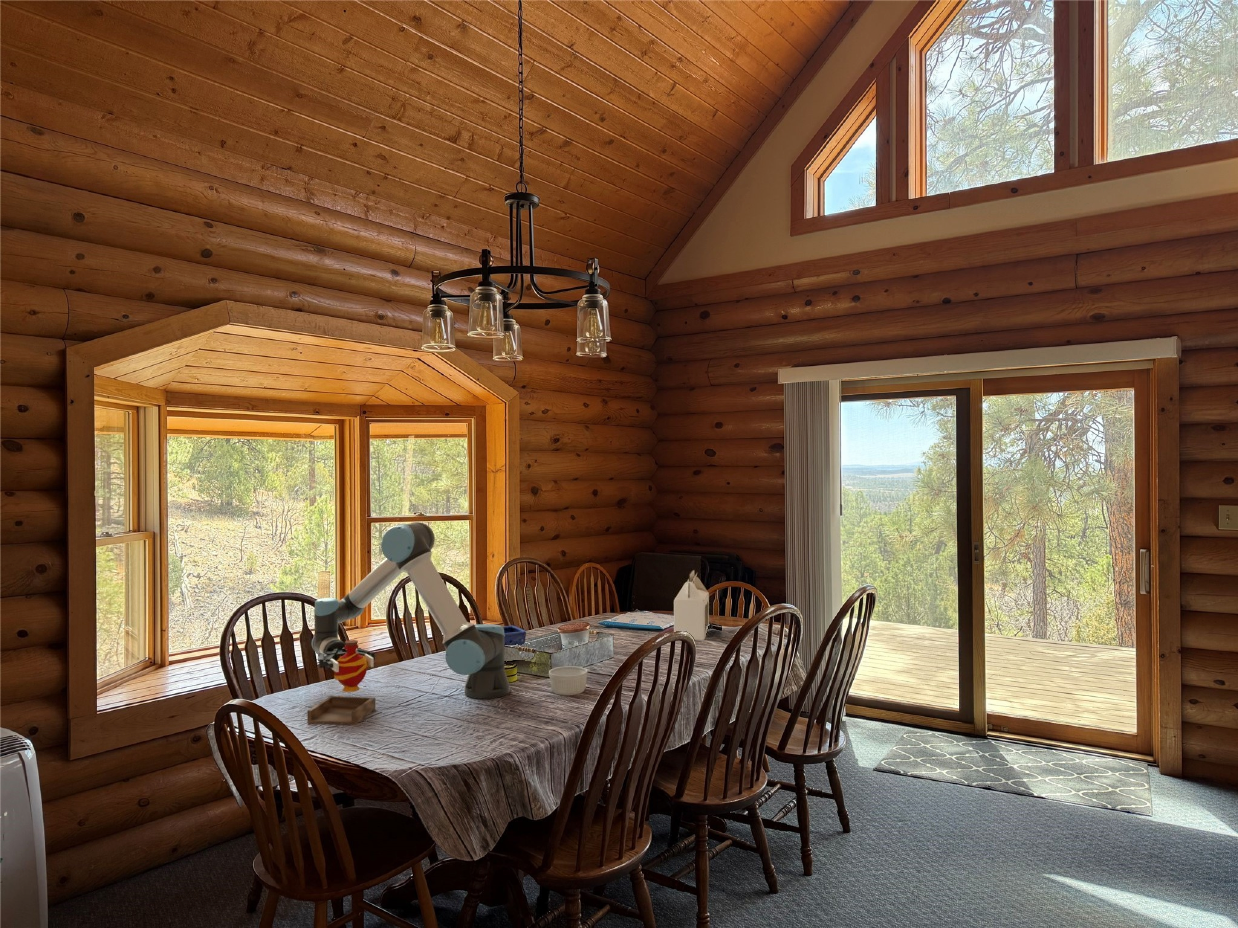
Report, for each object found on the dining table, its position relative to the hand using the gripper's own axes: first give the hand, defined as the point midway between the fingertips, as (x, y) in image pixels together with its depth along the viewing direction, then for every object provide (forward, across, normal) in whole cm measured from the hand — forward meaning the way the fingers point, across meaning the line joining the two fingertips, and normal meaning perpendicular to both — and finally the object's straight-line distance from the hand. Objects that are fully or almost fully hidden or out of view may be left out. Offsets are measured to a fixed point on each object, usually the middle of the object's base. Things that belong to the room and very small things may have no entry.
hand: (355, 665), depth 253 cm
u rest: (-4, +3, -16) cm, 17 cm away
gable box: (-32, -160, -16) cm, 164 cm away
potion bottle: (-4, 0, -9) cm, 10 cm away
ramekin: (+12, -69, -16) cm, 72 cm away
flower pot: (-39, -70, -16) cm, 82 cm away
